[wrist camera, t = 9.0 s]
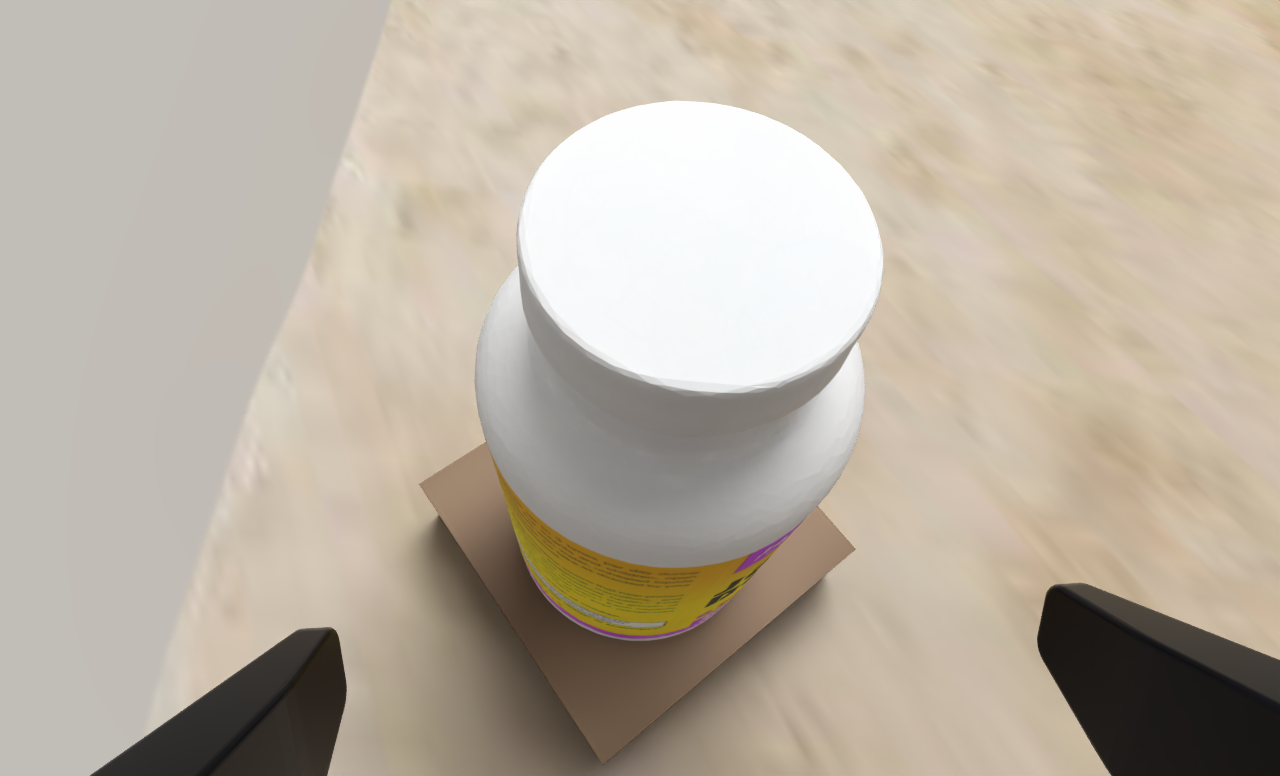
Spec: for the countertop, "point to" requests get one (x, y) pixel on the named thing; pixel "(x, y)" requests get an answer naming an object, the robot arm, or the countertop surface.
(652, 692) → the walnut stand
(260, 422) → the countertop surface
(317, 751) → the robot arm
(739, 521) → the supplement bottle
